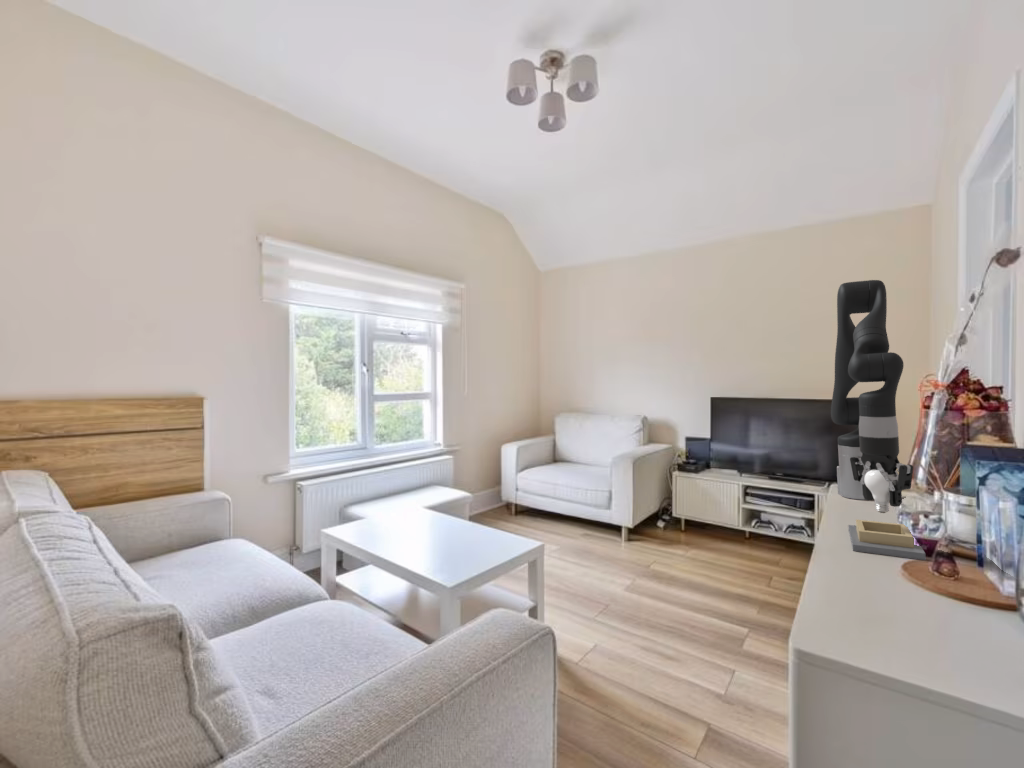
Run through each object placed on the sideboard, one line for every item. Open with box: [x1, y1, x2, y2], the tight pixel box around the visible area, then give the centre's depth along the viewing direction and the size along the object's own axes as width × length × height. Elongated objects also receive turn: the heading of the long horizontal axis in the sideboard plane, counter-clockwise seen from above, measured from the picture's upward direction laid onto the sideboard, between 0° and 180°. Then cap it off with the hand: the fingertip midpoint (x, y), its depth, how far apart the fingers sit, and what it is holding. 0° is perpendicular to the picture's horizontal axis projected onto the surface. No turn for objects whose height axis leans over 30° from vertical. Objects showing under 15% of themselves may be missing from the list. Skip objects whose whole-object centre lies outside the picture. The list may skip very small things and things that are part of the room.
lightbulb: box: [864, 469, 896, 514], centre depth 111 cm, size 6×6×11 cm
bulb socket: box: [847, 519, 927, 561], centre depth 111 cm, size 16×13×4 cm
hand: (881, 502), depth 111 cm, fingers closed on lightbulb, 6 cm apart
